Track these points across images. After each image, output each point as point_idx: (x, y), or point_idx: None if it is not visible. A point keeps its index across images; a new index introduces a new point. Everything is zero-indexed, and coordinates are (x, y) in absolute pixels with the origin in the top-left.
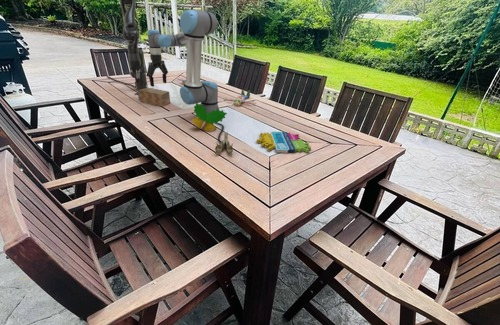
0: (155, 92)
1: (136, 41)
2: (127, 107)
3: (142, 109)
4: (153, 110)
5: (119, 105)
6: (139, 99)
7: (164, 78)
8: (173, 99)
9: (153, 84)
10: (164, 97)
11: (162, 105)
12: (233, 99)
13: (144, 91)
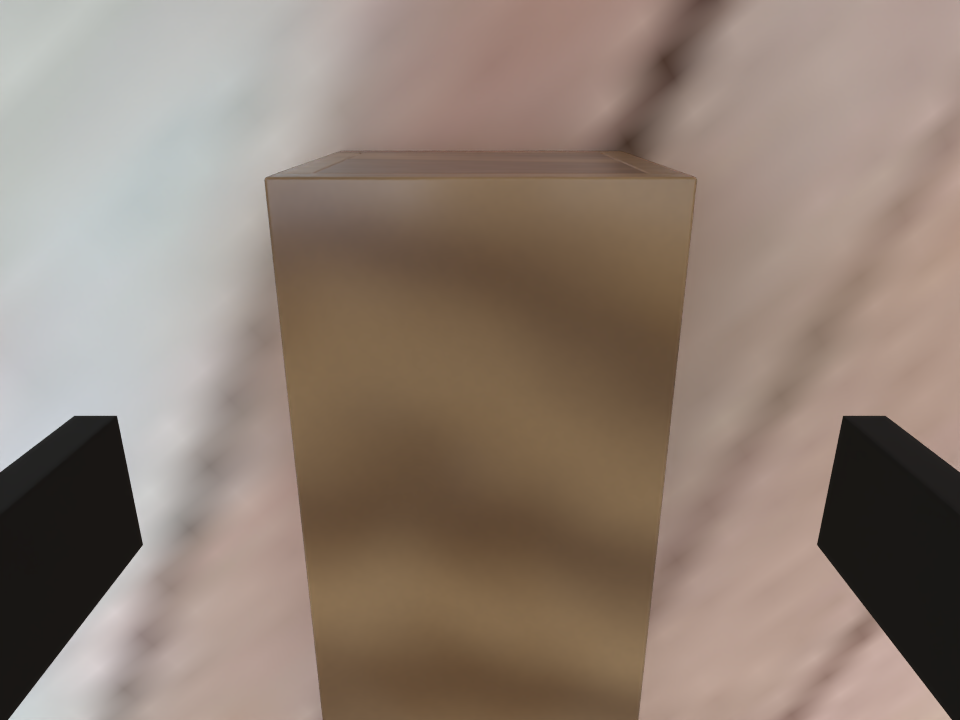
0: (592, 418)
1: None
2: None
3: (940, 317)
4: (918, 107)
5: (893, 699)
6: None
7: (3, 591)
8: (94, 274)
9: (922, 458)
10: (510, 165)
11: (592, 151)
12: None
13: (642, 666)
